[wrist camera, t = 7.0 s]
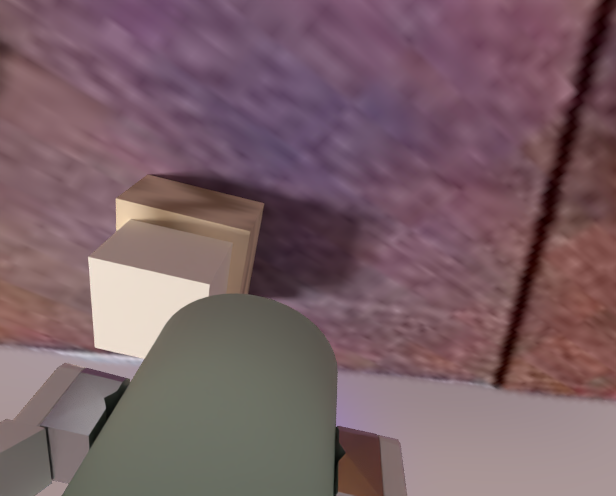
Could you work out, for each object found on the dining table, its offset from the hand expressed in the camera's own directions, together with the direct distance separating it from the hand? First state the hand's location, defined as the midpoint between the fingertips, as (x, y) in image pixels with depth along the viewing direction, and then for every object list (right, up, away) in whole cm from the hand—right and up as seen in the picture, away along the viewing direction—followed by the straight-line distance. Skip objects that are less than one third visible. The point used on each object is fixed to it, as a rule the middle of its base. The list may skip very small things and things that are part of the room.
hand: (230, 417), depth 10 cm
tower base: (-7, +5, +24) cm, 25 cm away
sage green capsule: (0, +1, +1) cm, 2 cm away
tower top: (-7, +2, +20) cm, 21 cm away
